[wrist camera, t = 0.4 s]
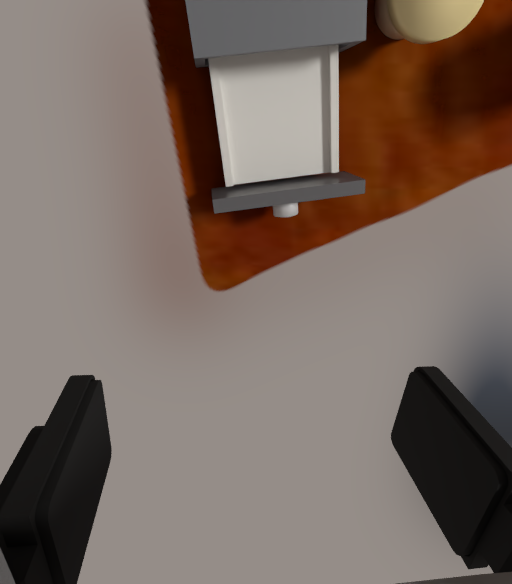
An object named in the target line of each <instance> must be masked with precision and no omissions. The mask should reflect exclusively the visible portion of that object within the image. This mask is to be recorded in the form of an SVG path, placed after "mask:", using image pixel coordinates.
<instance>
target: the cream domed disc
mask: <svg viewBox="0 0 512 584" xmlns="http://www.w3.org/2000/svg"><path fill="white" fill-rule="evenodd" d="M386 1H387V9H388V14H389V17H390V20H391V22H392V24H393V26H394V28H395V29H396V31H397V32H398V33H399V34H400V35H401V36H402V37H403V38H405V39H406V40H408V41H410V42H413V43H416V44H429V43H433V42H436V41H439V40H442V39H445V38H448V37H451V36H453V35H455V34H457V33H458V32H459V31H461V30H462V29H463V28H465V27H466V26H467V25H468V24H469V23H470V22H471V21H472V19H473V18H474V17H475V15H476V14H477V12H478V11H479V9H480V8H481V6H482V3H483V1H484V0H386Z"/></svg>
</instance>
